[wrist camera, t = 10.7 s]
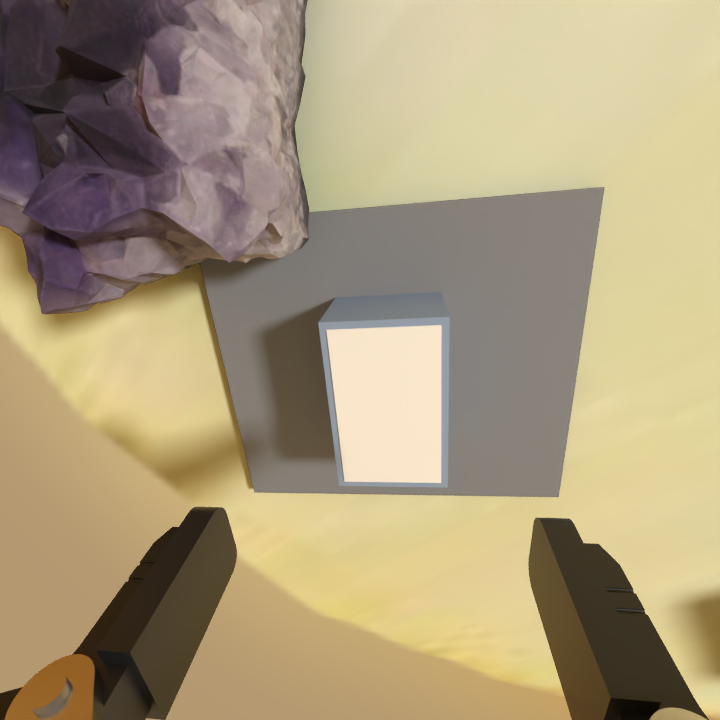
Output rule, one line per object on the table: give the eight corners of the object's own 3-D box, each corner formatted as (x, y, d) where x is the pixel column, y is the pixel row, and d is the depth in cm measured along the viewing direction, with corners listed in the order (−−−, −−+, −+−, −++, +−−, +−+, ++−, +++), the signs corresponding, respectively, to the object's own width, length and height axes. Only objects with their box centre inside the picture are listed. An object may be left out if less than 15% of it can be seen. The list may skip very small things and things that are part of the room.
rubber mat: (196, 222, 19) (190, 222, 18) (597, 187, 16) (604, 187, 16) (257, 485, 25) (254, 492, 24) (554, 489, 22) (558, 497, 22)
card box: (350, 436, 22) (338, 486, 18) (335, 297, 19) (317, 322, 15) (440, 436, 21) (447, 488, 17) (441, 292, 18) (449, 317, 14)
